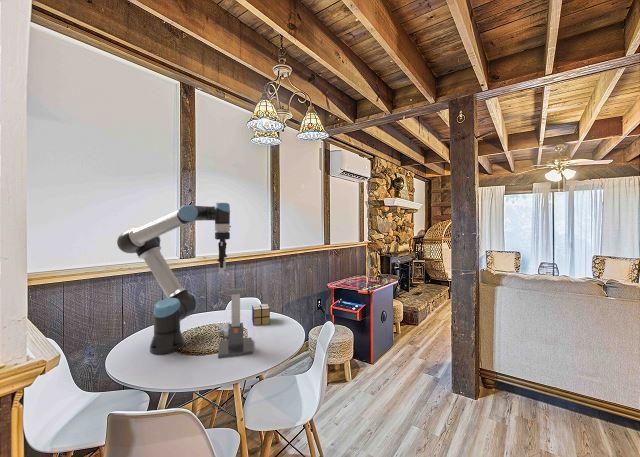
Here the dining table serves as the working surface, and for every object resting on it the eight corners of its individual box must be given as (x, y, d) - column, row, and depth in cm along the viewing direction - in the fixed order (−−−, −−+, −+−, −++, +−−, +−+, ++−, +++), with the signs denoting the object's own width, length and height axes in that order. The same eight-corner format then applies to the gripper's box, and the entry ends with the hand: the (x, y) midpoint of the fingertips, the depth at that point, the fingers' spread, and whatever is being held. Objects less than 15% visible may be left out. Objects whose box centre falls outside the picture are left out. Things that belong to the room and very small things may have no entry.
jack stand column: (227, 335, 140) (227, 290, 139) (227, 331, 144) (227, 288, 143) (244, 333, 142) (244, 289, 141) (244, 330, 146) (244, 287, 146)
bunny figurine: (219, 333, 153) (214, 321, 165) (219, 342, 153) (214, 329, 166) (237, 329, 157) (231, 318, 170) (237, 338, 158) (230, 326, 171)
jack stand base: (218, 358, 134) (217, 333, 133) (219, 343, 149) (219, 321, 149) (253, 353, 138) (253, 330, 138) (251, 340, 154) (251, 318, 153)
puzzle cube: (252, 320, 183) (252, 304, 182) (267, 318, 186) (267, 303, 185) (253, 326, 173) (253, 309, 173) (269, 324, 176) (270, 308, 176)
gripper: (228, 233, 141) (228, 275, 142) (230, 230, 165) (230, 267, 166) (212, 233, 139) (212, 276, 140) (216, 230, 163) (216, 267, 164)
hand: (222, 271), depth 153 cm, fingers open, 13 cm apart
